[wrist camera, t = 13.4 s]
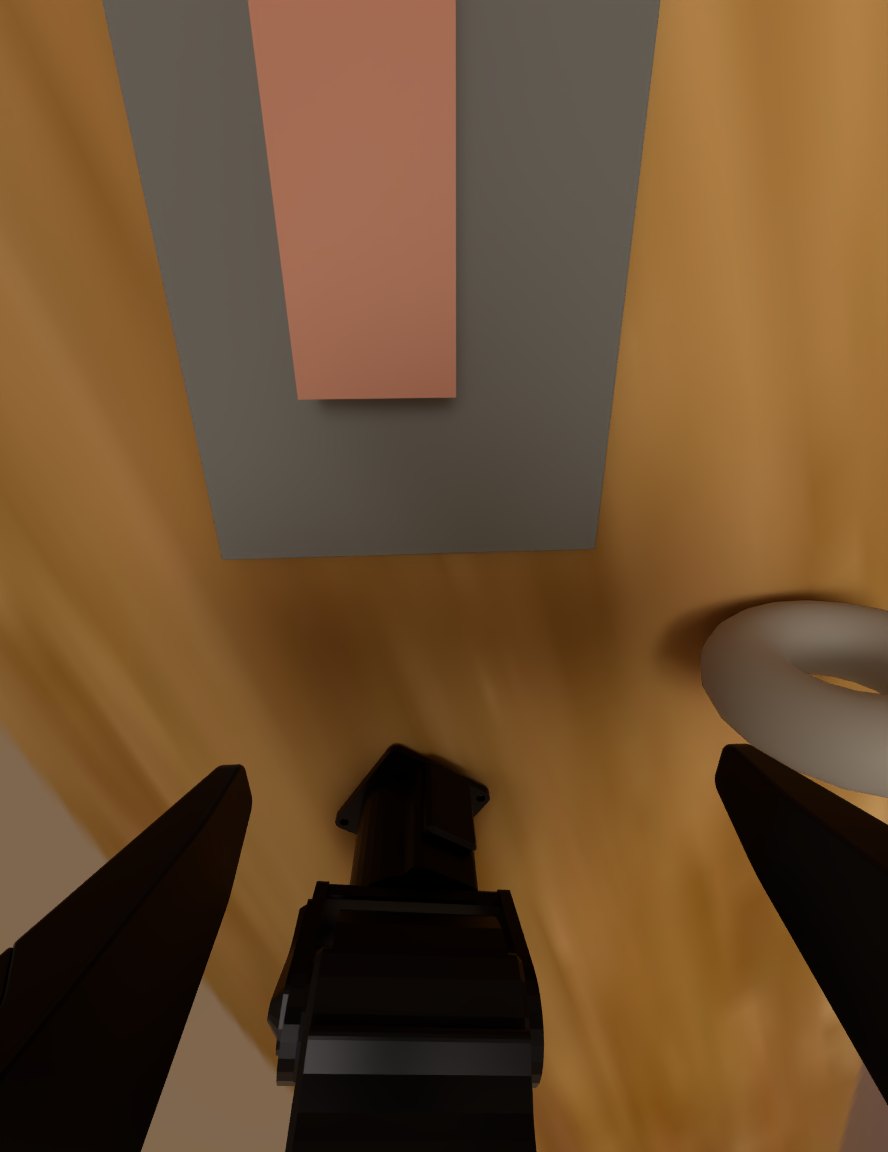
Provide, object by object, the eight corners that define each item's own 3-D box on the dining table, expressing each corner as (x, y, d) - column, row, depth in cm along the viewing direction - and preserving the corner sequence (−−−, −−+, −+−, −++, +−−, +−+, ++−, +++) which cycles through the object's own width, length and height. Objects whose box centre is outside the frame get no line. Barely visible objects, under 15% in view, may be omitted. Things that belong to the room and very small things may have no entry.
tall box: (455, 397, 15) (455, -226, 10) (297, 399, 15) (219, -234, 10) (450, 393, 18) (448, -98, 13) (317, 395, 18) (263, -101, 13)
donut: (656, 664, 24) (802, 846, 15) (660, 604, 22) (823, 763, 13) (854, 637, 24) (1128, 804, 15) (870, 575, 22) (1182, 715, 13)
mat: (590, 544, 21) (594, 549, 21) (227, 554, 21) (222, 559, 20) (667, -132, 13) (678, -154, 13) (82, -143, 13) (66, -166, 12)
